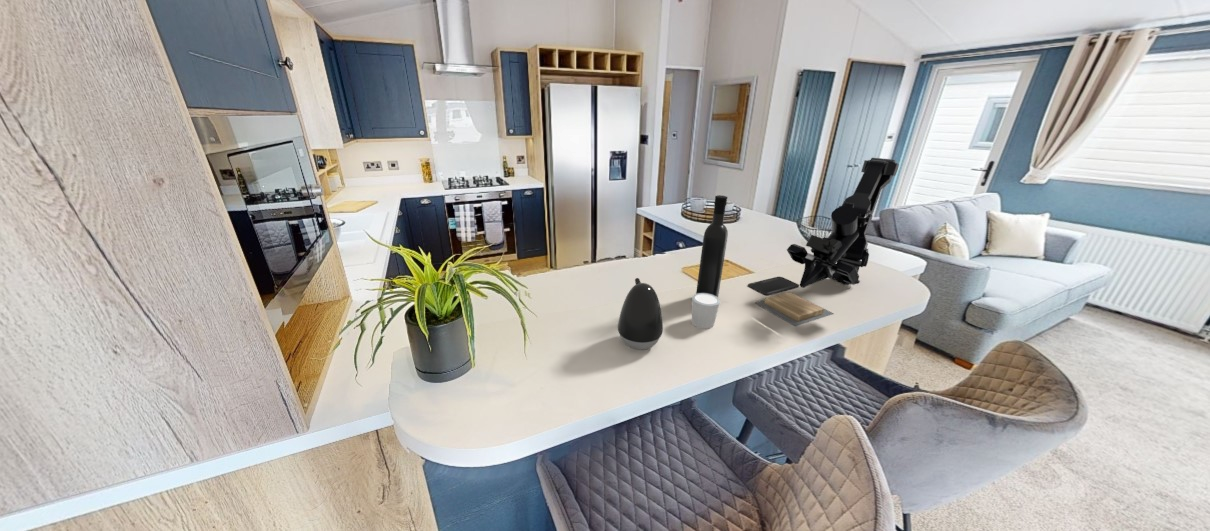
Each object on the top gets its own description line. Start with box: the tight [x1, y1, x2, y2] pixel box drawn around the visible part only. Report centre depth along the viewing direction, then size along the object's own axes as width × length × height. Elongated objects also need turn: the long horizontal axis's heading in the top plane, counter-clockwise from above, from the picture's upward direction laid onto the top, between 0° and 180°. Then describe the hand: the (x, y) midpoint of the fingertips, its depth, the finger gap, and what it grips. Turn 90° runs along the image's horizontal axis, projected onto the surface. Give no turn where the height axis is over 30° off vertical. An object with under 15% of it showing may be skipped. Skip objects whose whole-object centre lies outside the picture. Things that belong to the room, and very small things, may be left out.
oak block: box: [764, 291, 825, 322], centre depth 106 cm, size 2×11×10 cm
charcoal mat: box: [754, 299, 835, 327], centre depth 107 cm, size 16×14×1 cm
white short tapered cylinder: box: [691, 293, 721, 330], centre depth 97 cm, size 7×7×7 cm
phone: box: [747, 276, 800, 296], centre depth 120 cm, size 8×1×15 cm
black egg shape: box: [617, 277, 664, 351], centre depth 87 cm, size 10×10×15 cm
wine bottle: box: [695, 195, 729, 298], centre depth 104 cm, size 6×6×30 cm
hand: (801, 286), depth 104 cm, fingers closed
